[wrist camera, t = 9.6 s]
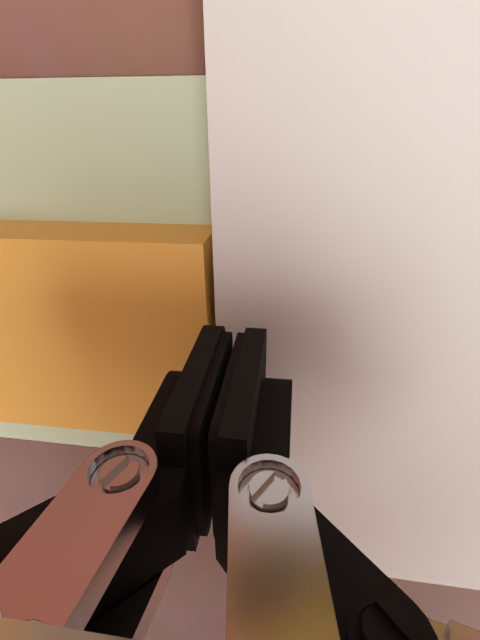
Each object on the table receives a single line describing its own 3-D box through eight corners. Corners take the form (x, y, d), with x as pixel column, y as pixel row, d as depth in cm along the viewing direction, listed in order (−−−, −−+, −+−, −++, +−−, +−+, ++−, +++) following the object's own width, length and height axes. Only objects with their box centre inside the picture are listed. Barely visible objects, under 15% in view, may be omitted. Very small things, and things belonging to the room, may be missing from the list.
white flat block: (508, 535, 17) (539, 598, 15) (233, 501, 18) (224, 554, 16) (848, -122, 7) (1078, -220, 5) (223, -80, 9) (197, -142, 7)
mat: (225, 455, 17) (225, 461, 17) (-62, 425, 19) (-68, 429, 18) (214, 76, 10) (212, 75, 10) (-231, 83, 12) (-242, 83, 12)
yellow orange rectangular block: (224, 403, 15) (214, 442, 13) (-9, 384, 16) (-46, 417, 15) (217, 224, 12) (203, 244, 10) (-74, 218, 13) (-132, 234, 11)
